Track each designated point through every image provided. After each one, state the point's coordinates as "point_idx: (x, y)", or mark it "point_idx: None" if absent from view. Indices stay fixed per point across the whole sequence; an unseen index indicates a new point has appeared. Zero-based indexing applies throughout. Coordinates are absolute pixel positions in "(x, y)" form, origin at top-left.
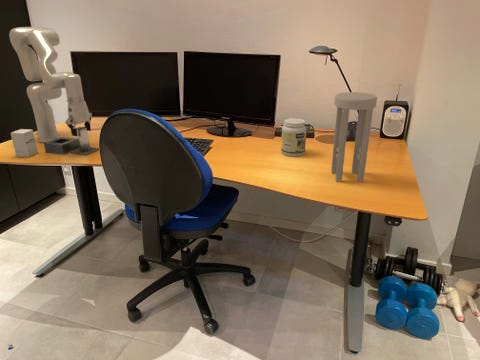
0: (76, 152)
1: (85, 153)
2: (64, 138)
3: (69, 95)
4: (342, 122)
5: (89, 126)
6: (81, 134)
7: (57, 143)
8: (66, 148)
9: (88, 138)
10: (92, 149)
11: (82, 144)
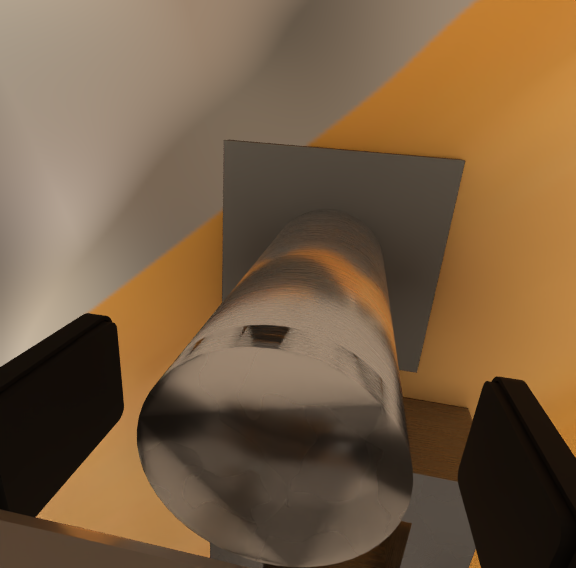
0: (413, 315)
1: (429, 195)
2: (249, 561)
3: None
4: None
5: (41, 366)
6: (386, 344)
7: (423, 556)
8: (422, 434)
9: (263, 259)
10: (279, 202)
11: (383, 279)
